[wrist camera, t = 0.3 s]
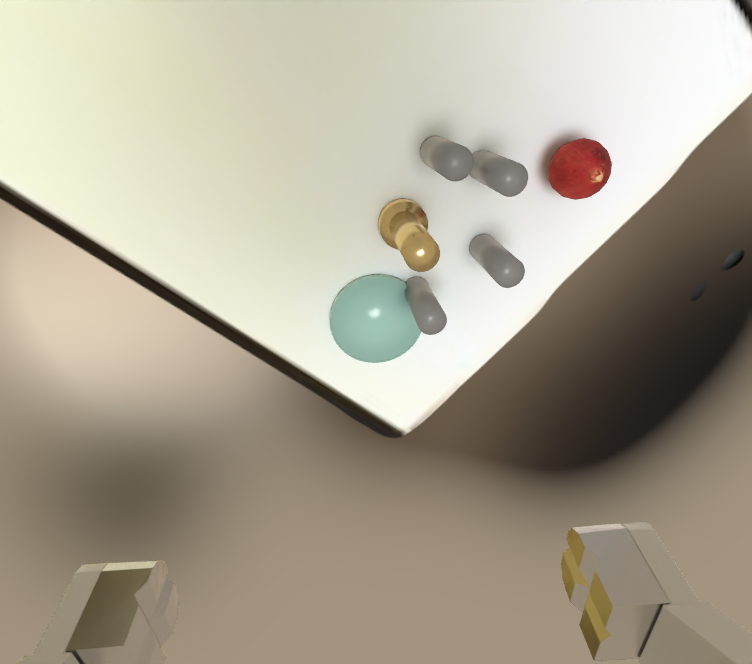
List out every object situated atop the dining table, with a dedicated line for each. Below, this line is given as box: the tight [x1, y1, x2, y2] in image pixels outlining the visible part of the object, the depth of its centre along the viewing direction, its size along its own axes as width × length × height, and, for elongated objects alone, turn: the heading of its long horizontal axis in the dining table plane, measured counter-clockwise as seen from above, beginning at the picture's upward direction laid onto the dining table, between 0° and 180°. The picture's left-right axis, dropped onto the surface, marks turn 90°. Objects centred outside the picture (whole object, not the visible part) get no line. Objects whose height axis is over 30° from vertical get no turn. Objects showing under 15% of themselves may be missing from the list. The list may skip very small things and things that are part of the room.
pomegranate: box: [549, 138, 612, 200], centre depth 50 cm, size 6×6×8 cm
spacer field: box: [405, 136, 528, 335], centre depth 51 cm, size 18×11×9 cm, turn 6°
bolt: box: [378, 199, 440, 272], centre depth 49 cm, size 5×5×12 cm
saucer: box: [330, 274, 421, 363], centre depth 58 cm, size 11×11×1 cm
